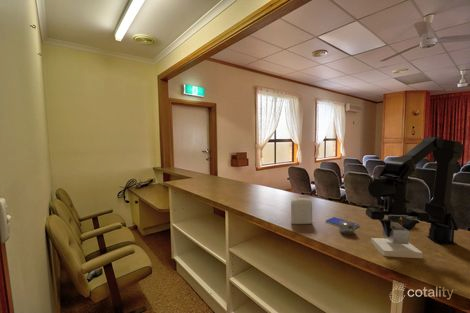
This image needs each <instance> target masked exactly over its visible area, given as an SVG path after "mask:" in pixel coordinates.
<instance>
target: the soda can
mask: <svg viewBox="0 0 470 313" xmlns="http://www.w3.org/2000/svg"><path fill="white" fill-rule="evenodd" d="M383 200H385V197H383ZM383 211H387V210H385V209H383ZM400 219H402V218H401V217H392V216H388V220H390V221H392V222H396V221H400Z"/></svg>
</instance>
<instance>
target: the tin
mask: <svg viewBox="0 0 470 313" xmlns="http://www.w3.org/2000/svg"><path fill="white" fill-rule="evenodd" d="M354 223H355V222H353V223H352V221H350V222H349V220H346V221H340V222H339V226H338V229H339V230H338V232H339V233H340V234H342V235H344V236H353V235H355V234H356V233H355V229H354Z"/></svg>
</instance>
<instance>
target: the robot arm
mask: <svg viewBox="0 0 470 313" xmlns="http://www.w3.org/2000/svg"><path fill="white" fill-rule="evenodd" d="M464 150H465V146H464V144H462V142H461V141H459V140H450V139H445V138H442V137H440V136H434V137H433V136H430V137H428V136H426V137H424V138H423V139H422V141H420V142H419V143H418V144H416V145H415V146H414V147H412V148H411V149H410V150H408V151H407V152H406V153H404V154H403V155H400V156H395V157H393V158H391V159H389V160H387V161H386V163H385V165H384V167H383V168H382V170H381V172H380V173H379V175H378V177H373V180H372V181H370V183H369V184H368V187H367V190H368V193H369V195H370V196H371V197H373V198H374V206H376V207H367V208H366V209H365V215H366V216H367V217H369V218H370V219H371V220H373V221H375V220H377V221H379V222H380V223H381V225H382V229H383V228H384V231H385V234H386V236H387V237H389V234H390V225H391V222H392V220H388V216H392V217H401V218H400V219H401V220H402V224H401V225H402V226H403V227H405V228H406V229H408V230H409V233H410V232H411V231H412V229H413V228H414V227H416V225H417V224H421V223H420V222H426V223H427V224H430V227H429V229H428V235H427V236H426V237H427V238H429V240H431V241H433V242H435V243H436V244H438V245H439V244H440V245H455V246H456V245H458V243H457V242H456V241H455V231H459V230H460V228H461V224H462V223H461V222H460V221H459V219H458V218H457V217H456V209H455V207H454V205H453V204H452V202H451V196H452V195H451V194H452V186H453V181H454V180H453V179H454V172H455V171H454V170H455V165H456V163H457V162H459V161H460V160H461V158H462V156H463V152H465V151H464ZM430 154H431V156H432V157H433V159H434V161H435V162H436V169H435V175H434V176H435V178H434V185H433V195H432V199H431V200H430V201H429V202H426V203H425V204H424V207H425V208H424V210H423V209H421V208H407V206H408V205H407V204H409V203H410V199H408V187H409V185H408V183H409V184H410V183H413V180H411V178H409V177H410V176H411V175H412V174H413V173H414V172H415V171H416V166H417V165H418V164H419V163H420V162H422V161H423V160H424V159H425V158H427V157H428V156H429V155H430ZM383 198H385V200H384V199H383ZM377 206H378V207H379V208H378V207H377ZM381 209H383V210H381ZM384 209H385V210H387V211H384Z"/></svg>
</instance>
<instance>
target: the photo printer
mask: <svg viewBox="0 0 470 313" xmlns="http://www.w3.org/2000/svg"><path fill="white" fill-rule="evenodd" d="M290 222H291V223H290V224H293V225H309V224H313V202H312V199H310V198H305V197H299V198H295V199H291V202H290Z"/></svg>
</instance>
